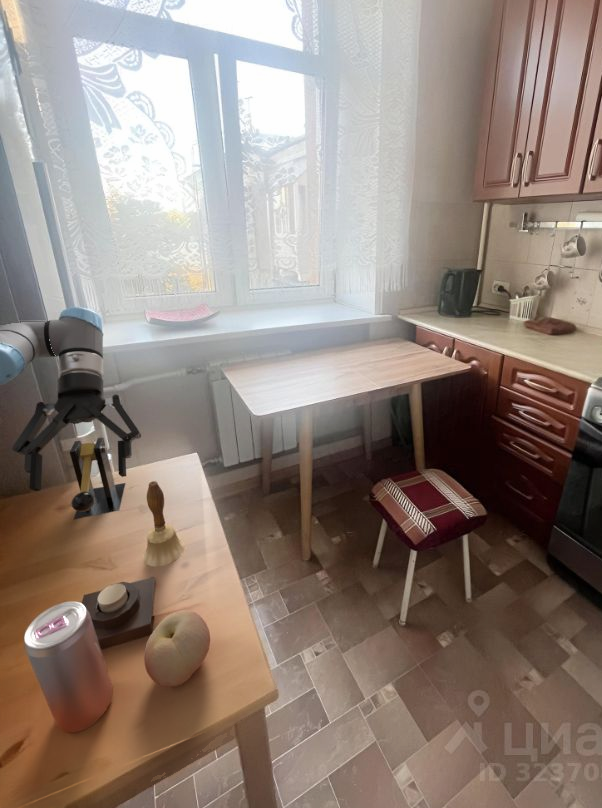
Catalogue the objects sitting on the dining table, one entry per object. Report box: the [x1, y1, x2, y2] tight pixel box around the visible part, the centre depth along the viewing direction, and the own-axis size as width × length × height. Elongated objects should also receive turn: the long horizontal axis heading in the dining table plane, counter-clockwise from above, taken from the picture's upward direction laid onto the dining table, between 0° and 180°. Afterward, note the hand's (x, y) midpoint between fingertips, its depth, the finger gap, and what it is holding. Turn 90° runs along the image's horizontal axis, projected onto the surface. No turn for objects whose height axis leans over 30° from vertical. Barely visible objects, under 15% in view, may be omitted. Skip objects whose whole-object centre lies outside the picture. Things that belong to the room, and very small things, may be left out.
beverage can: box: [23, 601, 114, 733], centre depth 46 cm, size 6×6×15 cm
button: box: [98, 583, 128, 613], centre depth 58 cm, size 4×4×2 cm
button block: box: [80, 576, 157, 651], centre depth 59 cm, size 10×9×4 cm
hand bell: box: [142, 480, 185, 567], centre depth 69 cm, size 8×8×16 cm
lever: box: [70, 442, 97, 512], centre depth 76 cm, size 14×4×4 cm, turn 22°
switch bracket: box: [69, 437, 126, 520], centre depth 81 cm, size 10×8×15 cm
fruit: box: [143, 609, 211, 688], centre depth 53 cm, size 8×8×8 cm
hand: (80, 482), depth 73 cm, fingers open, 13 cm apart
